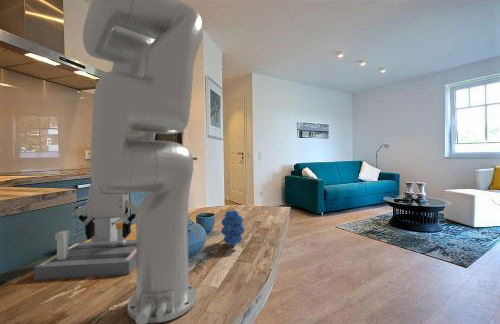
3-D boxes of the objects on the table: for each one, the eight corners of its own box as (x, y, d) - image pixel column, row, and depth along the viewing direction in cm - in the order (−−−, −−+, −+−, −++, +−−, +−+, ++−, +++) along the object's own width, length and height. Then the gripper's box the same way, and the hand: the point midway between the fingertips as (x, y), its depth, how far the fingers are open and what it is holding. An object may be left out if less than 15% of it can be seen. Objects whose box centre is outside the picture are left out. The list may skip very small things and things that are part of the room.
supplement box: (109, 247, 77) (109, 208, 77) (90, 246, 79) (89, 207, 79) (126, 240, 84) (125, 204, 84) (107, 239, 86) (107, 203, 86)
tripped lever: (123, 245, 69) (123, 223, 69) (115, 246, 69) (114, 223, 69) (127, 242, 72) (127, 220, 72) (119, 242, 72) (118, 221, 72)
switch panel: (129, 274, 59) (129, 234, 59) (34, 279, 56) (34, 238, 56) (148, 249, 76) (148, 217, 76) (76, 252, 73) (76, 220, 73)
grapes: (253, 248, 77) (253, 210, 76) (236, 253, 72) (236, 213, 72) (233, 238, 86) (233, 205, 86) (216, 242, 82) (216, 207, 81)
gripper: (143, 177, 75) (143, 232, 75) (83, 177, 73) (83, 234, 73) (135, 179, 67) (135, 240, 68) (67, 179, 65) (68, 242, 66)
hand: (108, 237), depth 70 cm, fingers open, 9 cm apart
